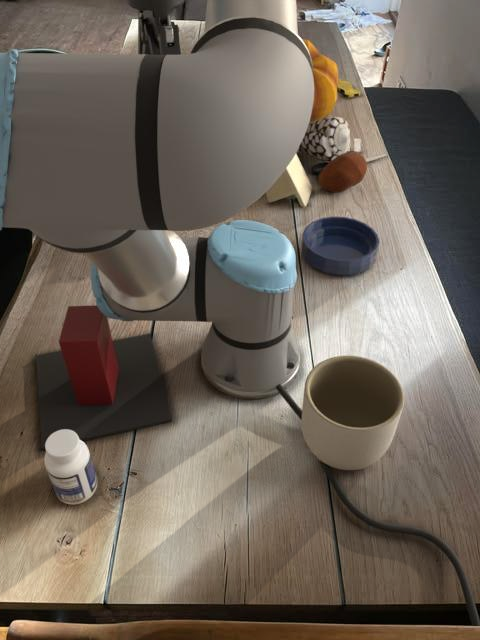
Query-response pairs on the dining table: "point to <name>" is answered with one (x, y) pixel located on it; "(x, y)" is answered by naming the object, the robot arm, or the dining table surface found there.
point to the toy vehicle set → (355, 145)
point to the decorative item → (347, 88)
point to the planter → (350, 411)
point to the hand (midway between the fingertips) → (165, 131)
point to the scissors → (328, 162)
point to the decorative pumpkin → (322, 83)
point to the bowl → (339, 245)
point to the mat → (103, 420)
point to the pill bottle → (70, 467)
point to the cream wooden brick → (291, 184)
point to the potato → (343, 172)
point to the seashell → (326, 139)
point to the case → (89, 355)
